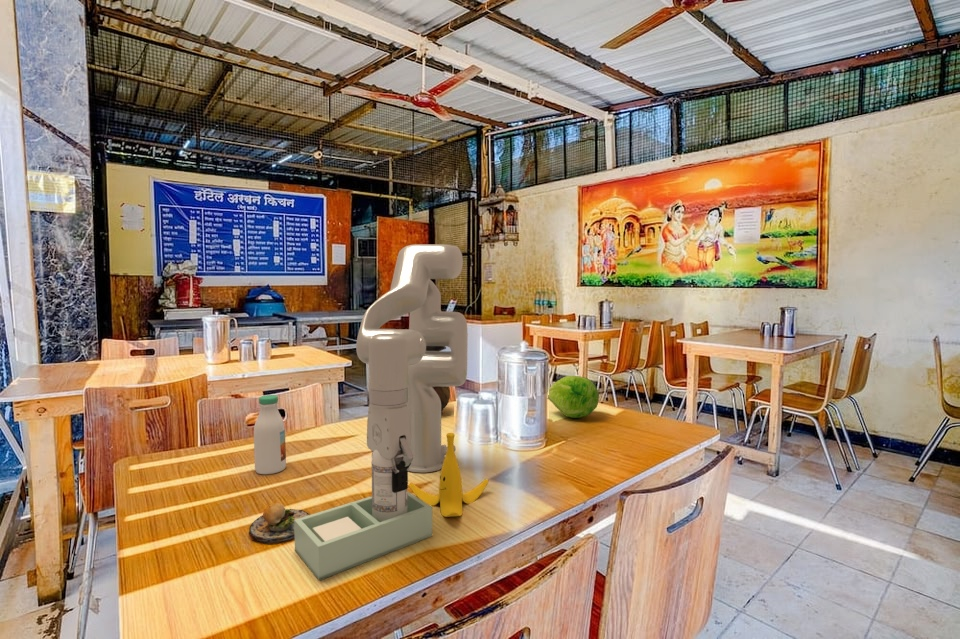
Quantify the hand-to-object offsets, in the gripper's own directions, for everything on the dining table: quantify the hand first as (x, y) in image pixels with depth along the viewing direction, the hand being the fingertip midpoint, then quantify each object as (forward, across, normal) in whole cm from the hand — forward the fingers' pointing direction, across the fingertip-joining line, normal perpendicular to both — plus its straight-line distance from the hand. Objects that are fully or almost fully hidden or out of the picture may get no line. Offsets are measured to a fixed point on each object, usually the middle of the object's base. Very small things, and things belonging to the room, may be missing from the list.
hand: (390, 483), depth 97 cm
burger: (+11, -16, -16) cm, 25 cm away
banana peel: (+11, -3, +20) cm, 22 cm away
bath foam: (+7, 0, 0) cm, 7 cm away
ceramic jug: (+10, -70, +55) cm, 89 cm away
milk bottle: (+11, -50, -8) cm, 52 cm away
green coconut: (+10, -32, +94) cm, 100 cm away
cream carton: (+10, 0, -11) cm, 15 cm away
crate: (+10, 0, -6) cm, 12 cm away
